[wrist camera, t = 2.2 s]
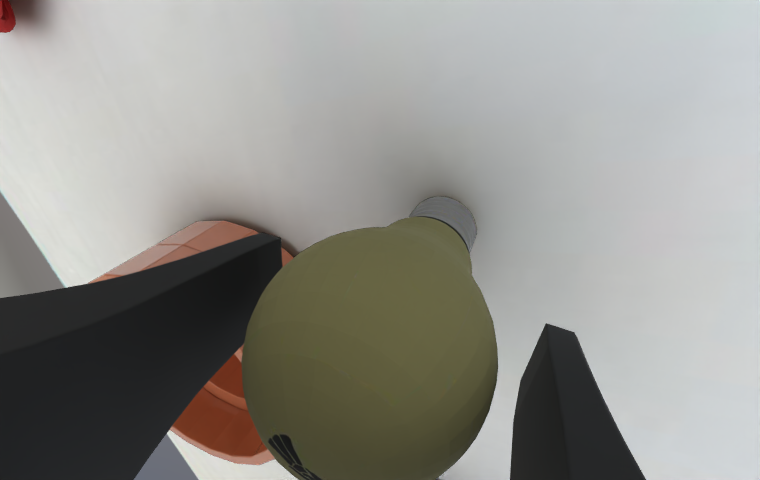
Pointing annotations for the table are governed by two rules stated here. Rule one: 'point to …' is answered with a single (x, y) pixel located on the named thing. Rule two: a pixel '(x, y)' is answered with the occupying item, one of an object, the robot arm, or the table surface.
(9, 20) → the tracker holder
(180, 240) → the bowl
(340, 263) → the light bulb
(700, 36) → the table surface
